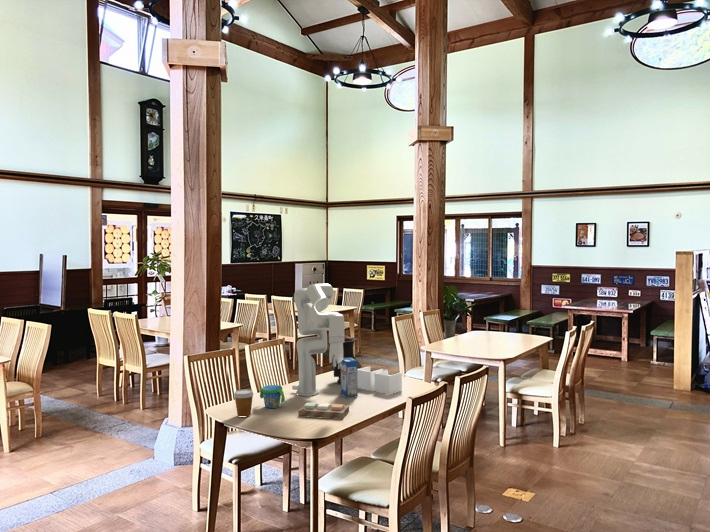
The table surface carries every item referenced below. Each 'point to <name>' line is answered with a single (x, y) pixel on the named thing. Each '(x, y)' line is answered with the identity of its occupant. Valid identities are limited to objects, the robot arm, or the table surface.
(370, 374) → the storage container
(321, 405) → the cream button
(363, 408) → the table surface
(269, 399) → the snack cup
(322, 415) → the tray
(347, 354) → the jug
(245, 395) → the disposable coffee cup
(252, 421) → the table surface
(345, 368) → the milk carton
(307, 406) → the sage button
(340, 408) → the terracotta button
